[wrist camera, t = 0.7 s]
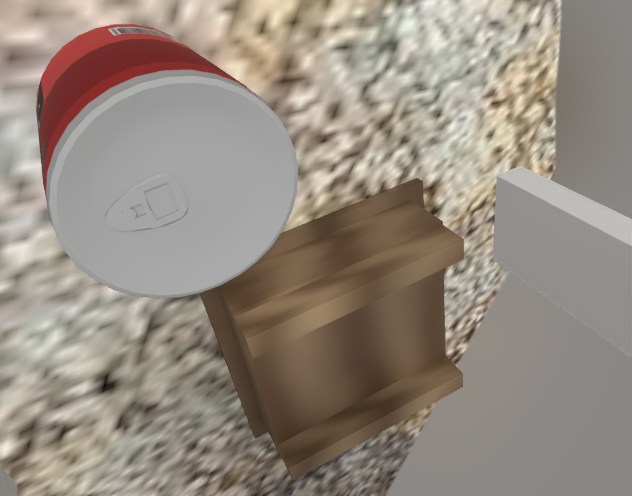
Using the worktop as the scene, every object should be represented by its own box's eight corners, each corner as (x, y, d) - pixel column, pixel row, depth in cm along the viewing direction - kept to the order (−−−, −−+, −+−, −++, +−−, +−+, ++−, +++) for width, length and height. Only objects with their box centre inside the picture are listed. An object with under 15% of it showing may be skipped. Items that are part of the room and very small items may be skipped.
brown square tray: (252, 432, 40) (283, 498, 36) (191, 270, 31) (221, 330, 26) (425, 343, 45) (473, 391, 40) (417, 178, 35) (477, 215, 31)
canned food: (-7, 88, 22) (-21, 186, 14) (147, -18, 23) (223, 15, 15) (113, 212, 27) (157, 341, 19) (237, 122, 28) (334, 207, 19)
